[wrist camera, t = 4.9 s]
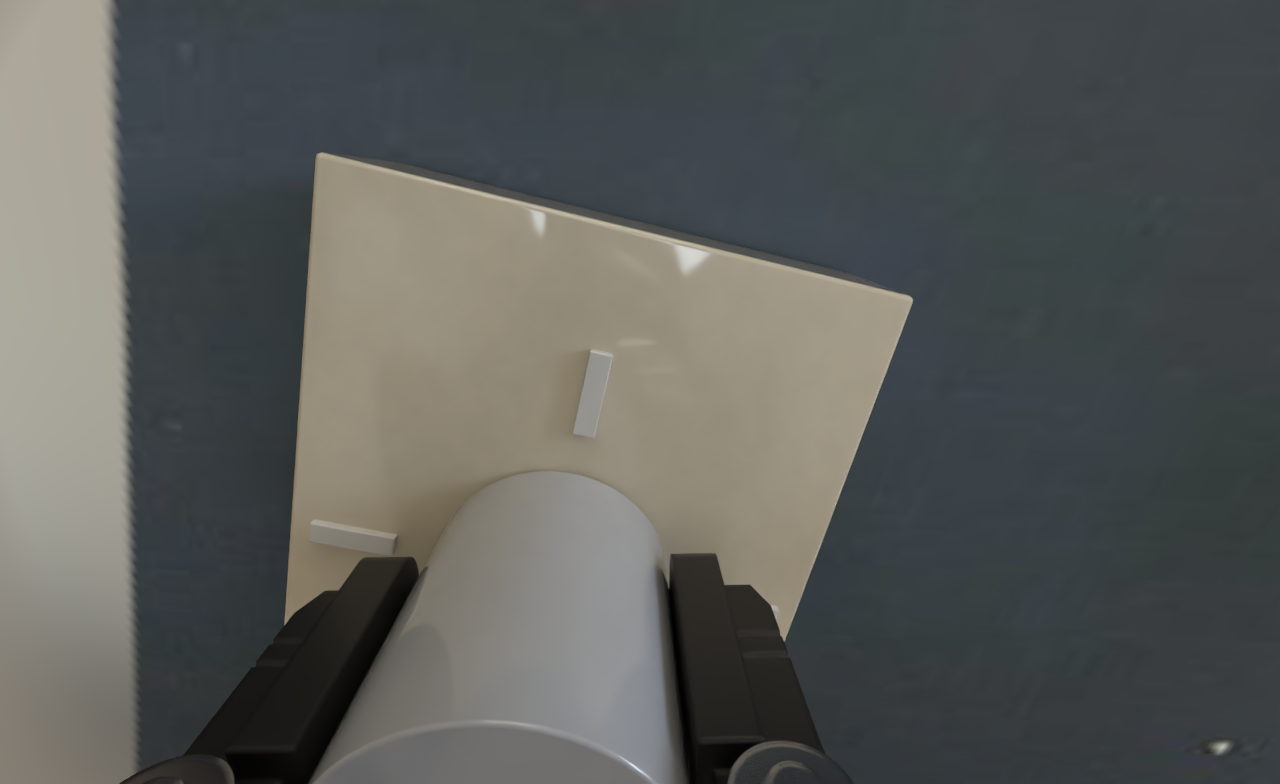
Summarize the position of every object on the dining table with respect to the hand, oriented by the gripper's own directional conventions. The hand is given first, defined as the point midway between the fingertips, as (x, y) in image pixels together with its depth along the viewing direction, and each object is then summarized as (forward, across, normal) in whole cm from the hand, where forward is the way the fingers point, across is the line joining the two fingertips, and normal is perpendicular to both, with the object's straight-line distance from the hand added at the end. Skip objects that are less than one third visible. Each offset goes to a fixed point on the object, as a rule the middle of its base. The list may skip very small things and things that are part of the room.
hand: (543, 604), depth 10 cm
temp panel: (+4, 0, 0) cm, 4 cm away
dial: (+1, 0, 0) cm, 1 cm away
